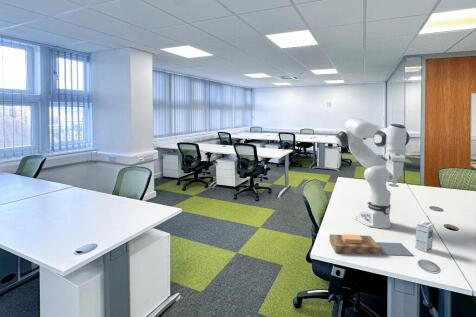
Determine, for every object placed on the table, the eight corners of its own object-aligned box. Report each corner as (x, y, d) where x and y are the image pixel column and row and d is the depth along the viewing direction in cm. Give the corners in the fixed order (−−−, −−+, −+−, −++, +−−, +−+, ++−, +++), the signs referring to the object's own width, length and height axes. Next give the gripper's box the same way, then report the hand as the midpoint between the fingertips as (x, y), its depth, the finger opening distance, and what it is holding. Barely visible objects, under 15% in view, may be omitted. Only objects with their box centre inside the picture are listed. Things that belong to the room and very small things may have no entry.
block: (344, 242, 150) (344, 239, 150) (341, 237, 156) (341, 234, 156) (362, 243, 149) (362, 239, 149) (358, 238, 155) (358, 234, 155)
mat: (380, 254, 145) (380, 254, 145) (370, 242, 159) (370, 241, 159) (413, 256, 144) (413, 255, 143) (400, 243, 157) (400, 243, 157)
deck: (335, 253, 147) (335, 245, 146) (329, 241, 161) (329, 234, 160) (379, 254, 145) (380, 247, 144) (369, 242, 159) (370, 235, 158)
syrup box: (426, 252, 147) (429, 226, 145) (414, 248, 152) (416, 222, 150) (431, 250, 150) (434, 223, 148) (419, 245, 155) (422, 220, 153)
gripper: (384, 152, 159) (382, 176, 161) (391, 158, 140) (389, 185, 142) (397, 153, 157) (394, 177, 159) (406, 158, 138) (403, 186, 140)
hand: (392, 181), depth 150 cm, fingers open, 8 cm apart
